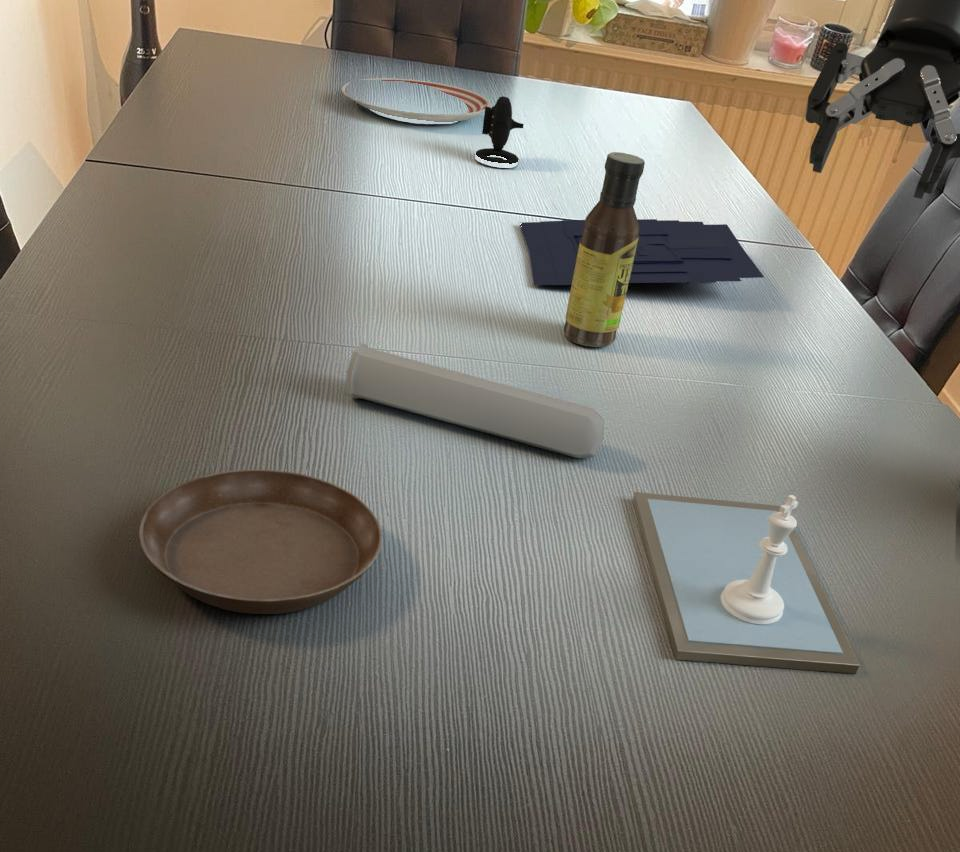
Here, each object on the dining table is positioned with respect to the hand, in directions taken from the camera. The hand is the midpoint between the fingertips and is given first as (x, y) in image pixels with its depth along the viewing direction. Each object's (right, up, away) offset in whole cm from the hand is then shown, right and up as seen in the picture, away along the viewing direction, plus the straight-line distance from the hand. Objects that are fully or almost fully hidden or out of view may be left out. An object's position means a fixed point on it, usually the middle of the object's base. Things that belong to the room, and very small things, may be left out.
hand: (867, 179), depth 84 cm
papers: (-11, +13, +56) cm, 58 cm away
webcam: (-29, +42, +87) cm, 101 cm away
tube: (-33, -17, +15) cm, 40 cm away
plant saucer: (-49, -32, -6) cm, 59 cm away
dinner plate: (-44, +60, +105) cm, 129 cm away
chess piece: (-11, -35, -4) cm, 37 cm away
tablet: (-11, -33, 0) cm, 35 cm away
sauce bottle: (-19, -3, +35) cm, 40 cm away
